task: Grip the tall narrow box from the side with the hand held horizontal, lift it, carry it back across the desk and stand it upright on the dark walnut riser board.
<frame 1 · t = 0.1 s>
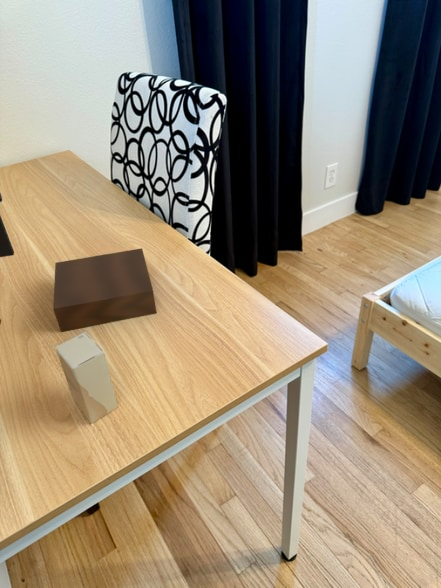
box: (97, 405, 59), on the table
riser: (107, 298, 78), on the table
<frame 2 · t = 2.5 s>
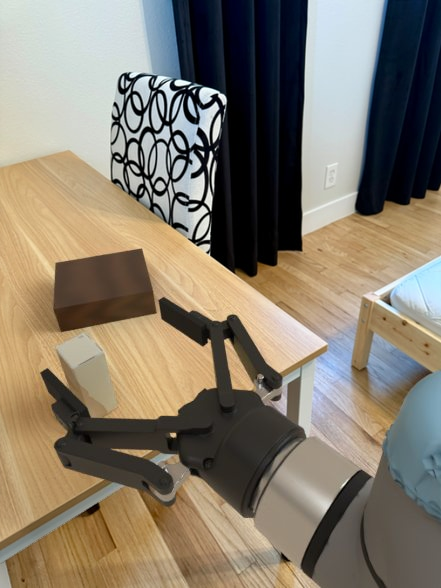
hand: (110, 340, 43), 18 cm above the table, tool horizontal, fingers open, 13 cm apart
nothing on the table moved.
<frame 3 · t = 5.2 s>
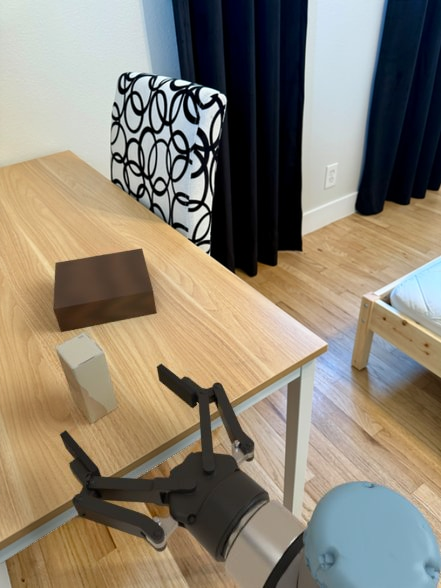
hand: (116, 403, 52), 6 cm above the table, tool horizontal, fingers open, 13 cm apart
nothing on the table moved.
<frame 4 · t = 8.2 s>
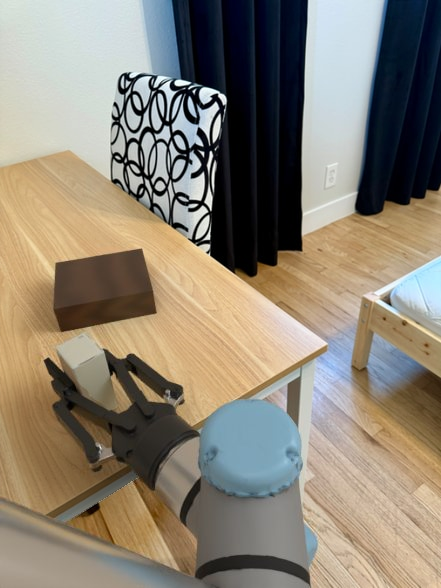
hand: (66, 355, 58), 6 cm above the table, tool horizontal, fingers closed on box, 4 cm apart
box: (97, 405, 59), on the table, touching gripper
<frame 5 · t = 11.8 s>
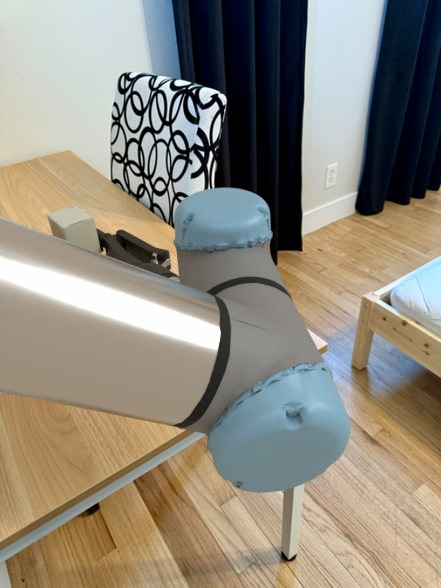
hand: (58, 234, 61), 18 cm above the table, tool horizontal, fingers closed on box, 4 cm apart
box: (88, 285, 61), point 12 cm above the table, touching gripper
when the fingers open (11 cm above the table, at t = 15.6 s): box stays where it is, resting on riser.
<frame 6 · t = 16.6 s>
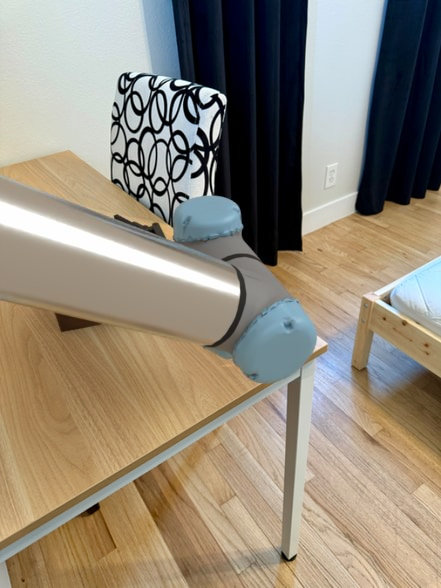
hand: (83, 236, 73), 12 cm above the table, tool horizontal, fingers open, 13 cm apart
box: (102, 276, 75), point 5 cm above the table, touching riser
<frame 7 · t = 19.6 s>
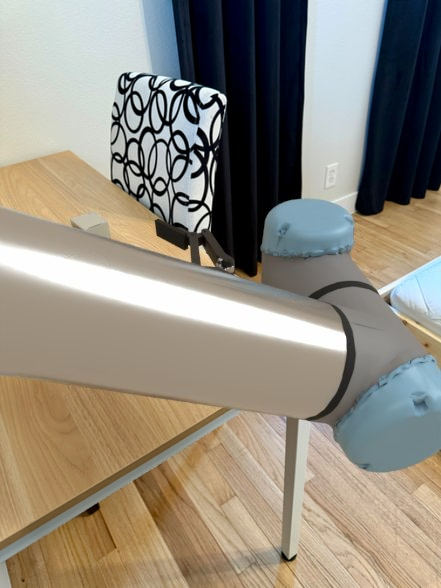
hand: (120, 244, 62), 16 cm above the table, tool horizontal, fingers open, 13 cm apart
nothing on the table moved.
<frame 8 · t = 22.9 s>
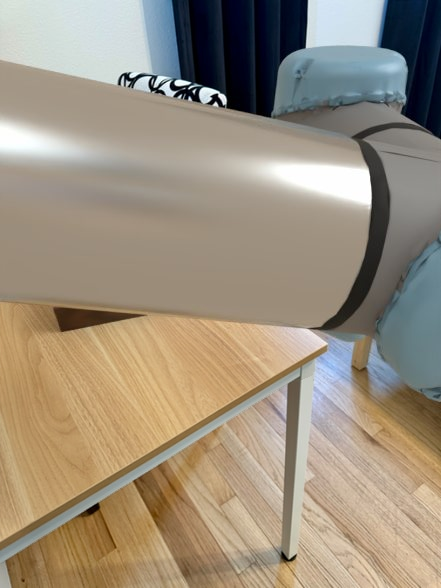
hand: (98, 175, 52), 28 cm above the table, tool horizontal, fingers open, 13 cm apart
nothing on the table moved.
at the end: box inside the target area on the riser (0.0 cm from its centre), point 4.8 cm above the riser's base; box tilted 0°; the gripper is holding nothing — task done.
